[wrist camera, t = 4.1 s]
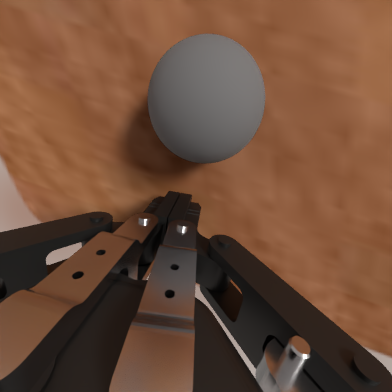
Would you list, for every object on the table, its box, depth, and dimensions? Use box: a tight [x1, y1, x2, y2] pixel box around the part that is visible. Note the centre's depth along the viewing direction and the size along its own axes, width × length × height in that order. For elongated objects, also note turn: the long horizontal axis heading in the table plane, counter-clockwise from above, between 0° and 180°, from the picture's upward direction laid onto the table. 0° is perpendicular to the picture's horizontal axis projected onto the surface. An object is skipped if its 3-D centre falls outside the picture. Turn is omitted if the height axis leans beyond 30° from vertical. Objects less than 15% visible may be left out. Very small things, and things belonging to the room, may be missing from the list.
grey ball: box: [148, 34, 265, 163], centre depth 10 cm, size 6×6×6 cm
